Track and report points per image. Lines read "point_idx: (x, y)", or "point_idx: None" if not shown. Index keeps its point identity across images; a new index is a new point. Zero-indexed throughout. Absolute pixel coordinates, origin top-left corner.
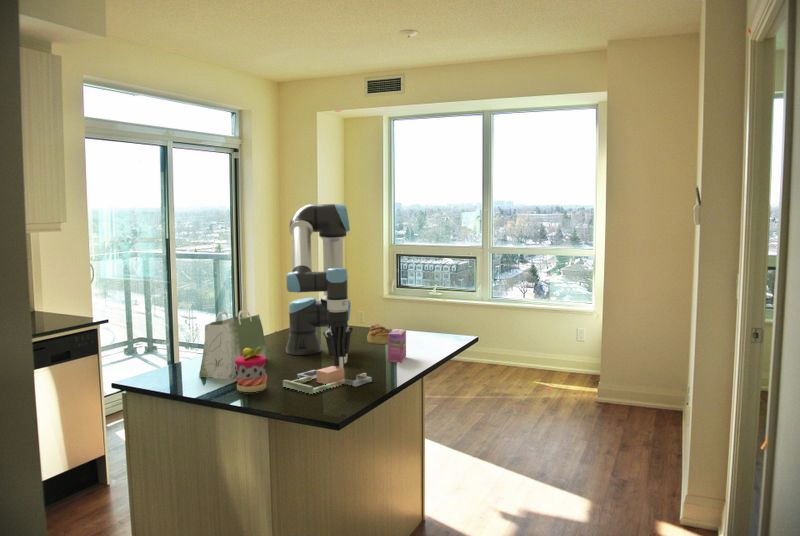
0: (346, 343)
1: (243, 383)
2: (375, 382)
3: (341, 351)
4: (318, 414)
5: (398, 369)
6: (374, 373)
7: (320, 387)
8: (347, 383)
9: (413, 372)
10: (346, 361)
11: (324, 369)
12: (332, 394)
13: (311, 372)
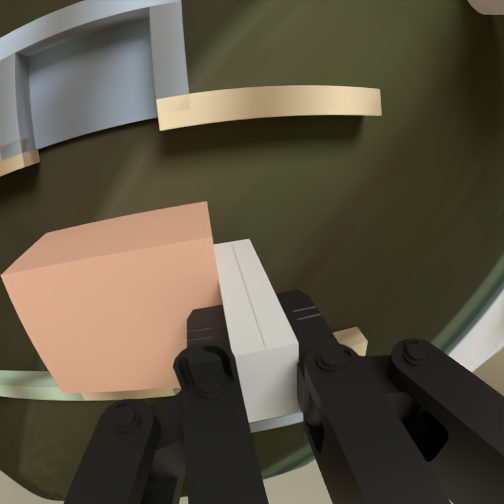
0: (458, 495)
1: None
2: None
3: (319, 458)
4: (8, 468)
5: (495, 305)
6: (430, 300)
7: (18, 397)
8: None
9: (471, 363)
10: (490, 14)
11: (67, 303)
12: (62, 428)
13: (117, 16)
